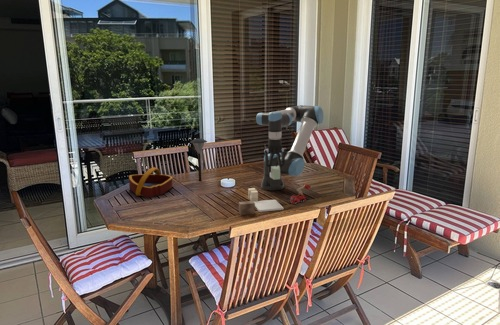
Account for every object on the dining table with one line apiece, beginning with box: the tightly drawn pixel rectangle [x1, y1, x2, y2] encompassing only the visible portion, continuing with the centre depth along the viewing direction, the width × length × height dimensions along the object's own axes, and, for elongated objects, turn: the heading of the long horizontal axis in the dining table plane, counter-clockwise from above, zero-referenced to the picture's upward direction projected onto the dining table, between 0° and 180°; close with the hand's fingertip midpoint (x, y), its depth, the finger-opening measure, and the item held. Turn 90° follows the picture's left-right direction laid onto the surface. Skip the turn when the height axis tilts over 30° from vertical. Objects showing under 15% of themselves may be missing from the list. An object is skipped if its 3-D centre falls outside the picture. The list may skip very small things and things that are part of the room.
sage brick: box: [271, 166, 280, 180], centre depth 220 cm, size 8×4×6 cm, turn 14°
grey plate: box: [254, 199, 284, 213], centre depth 210 cm, size 15×14×1 cm
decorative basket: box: [128, 166, 173, 198], centre depth 242 cm, size 34×29×15 cm
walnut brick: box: [238, 200, 256, 216], centre depth 200 cm, size 8×4×6 cm, turn 104°
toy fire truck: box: [289, 183, 311, 205], centre depth 217 cm, size 3×14×10 cm, turn 126°
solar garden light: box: [189, 138, 208, 182], centre depth 261 cm, size 12×12×30 cm
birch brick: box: [247, 187, 259, 202], centre depth 222 cm, size 8×4×6 cm, turn 14°
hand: (274, 176), depth 221 cm, fingers closed on sage brick, 4 cm apart
